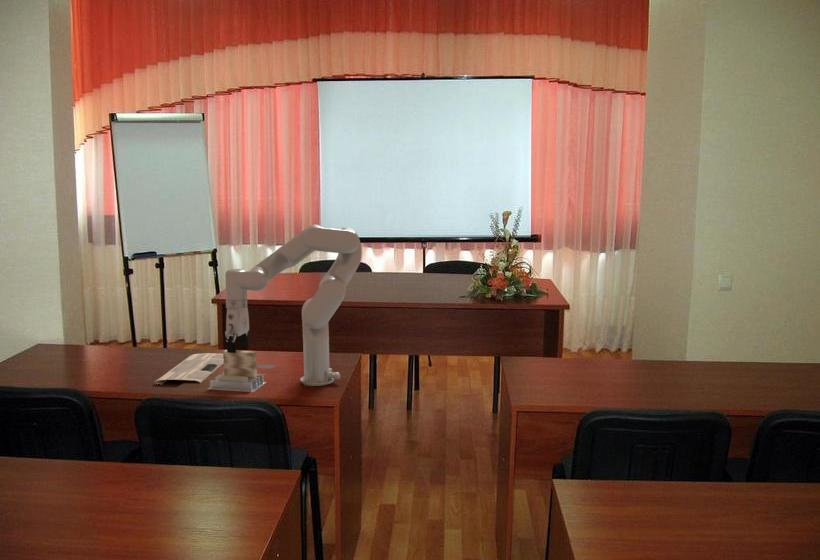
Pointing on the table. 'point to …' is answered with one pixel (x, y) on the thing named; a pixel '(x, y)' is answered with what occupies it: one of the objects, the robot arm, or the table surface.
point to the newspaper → (194, 368)
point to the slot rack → (238, 384)
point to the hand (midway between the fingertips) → (237, 349)
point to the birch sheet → (240, 363)
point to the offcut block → (233, 378)
